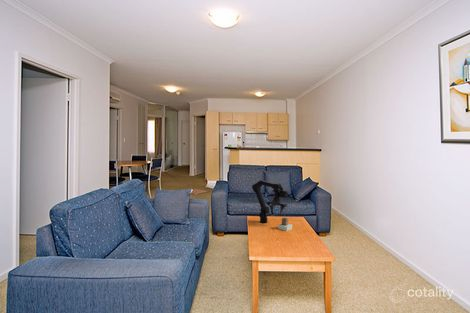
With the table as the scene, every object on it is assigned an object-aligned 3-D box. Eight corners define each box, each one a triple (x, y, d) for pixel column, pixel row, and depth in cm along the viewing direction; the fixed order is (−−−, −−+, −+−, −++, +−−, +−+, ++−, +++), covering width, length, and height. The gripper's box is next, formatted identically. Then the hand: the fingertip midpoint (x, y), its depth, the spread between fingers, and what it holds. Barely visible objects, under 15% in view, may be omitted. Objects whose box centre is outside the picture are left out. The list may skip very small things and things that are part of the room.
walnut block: (281, 224, 235) (281, 218, 235) (283, 223, 239) (283, 217, 239) (286, 225, 233) (286, 219, 232) (288, 224, 236) (288, 218, 236)
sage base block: (278, 229, 235) (278, 224, 235) (283, 227, 242) (283, 222, 242) (286, 231, 229) (286, 226, 229) (292, 229, 236) (292, 224, 236)
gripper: (264, 196, 244) (263, 212, 245) (282, 199, 233) (281, 216, 234) (269, 194, 253) (269, 210, 254) (287, 197, 242) (286, 214, 243)
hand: (276, 213), depth 246 cm, fingers open, 9 cm apart
